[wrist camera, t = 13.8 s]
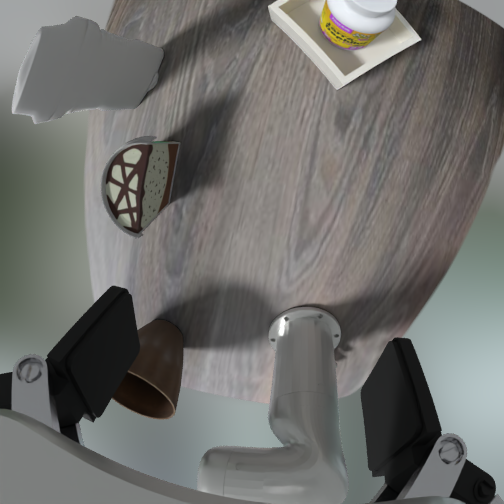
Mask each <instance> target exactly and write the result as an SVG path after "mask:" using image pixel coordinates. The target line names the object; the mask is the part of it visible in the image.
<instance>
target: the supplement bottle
mask: <svg viewBox="0 0 504 504" xmlns="http://www.w3.org/2000/svg"><path fill="white" fill-rule="evenodd" d="M396 4H397V0H325V4H324V7H323V10H322V13H321V16H320V20H319V27H320V31H321V33H322V35H323V36H324V38H325V39H326V40H327V41H328V42H329V43H330V44H332V45H333V46H335V47H337V48H340V49H343V50H349V51H353V50H359V49H362V48H364V47H365V46H367V45H368V44H369V43H370V42H371V41H373V40H374V39H375V38H376V37H377V36H379V35H380V34H381V33H382V32H384V31H385V30H386V29H387V28H388V27H390V26H391V24H392V23H393V21H394V18H395V6H396Z"/></svg>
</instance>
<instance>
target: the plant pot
mask: <svg viewBox="0 0 504 504" xmlns="http://www.w3.org/2000/svg"><path fill="white" fill-rule="evenodd" d="M137 331H138V337H139V342H140V351H139V354H138V356H137V357H136V359H135V360H134V362H133V364H132V365H131V367H130V369H129V370H128V372H127V373H126V375H125V377H124V378H123V380H122V382H121V383H120V385H119V387H118V388H117V390H116V392H115V393H114V395H113V397H112V399H113V400H115V401H116V402H117V403H119V404H120V405H122V406H123V407H125V408H127V409H129V410H131V411H133V412H135V413H137V414H140V415H142V416H145V417H149V418H153V419H169V418H171V417H173V415H174V414H175V411H176V406H177V401H178V396H179V392H180V386H181V379H182V369H183V336H182V333H181V332H180V330H179V329H178V328H177V327H176V326H175V325H173V324H172V323H170V322H167V321H165V320H154V321H152V322H150V323H149V324H147V325H145V326H144V327H142V328H140V329H139V330H137Z"/></svg>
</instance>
